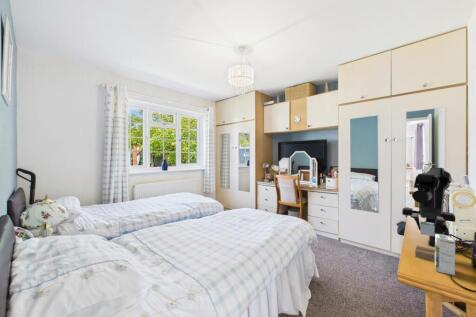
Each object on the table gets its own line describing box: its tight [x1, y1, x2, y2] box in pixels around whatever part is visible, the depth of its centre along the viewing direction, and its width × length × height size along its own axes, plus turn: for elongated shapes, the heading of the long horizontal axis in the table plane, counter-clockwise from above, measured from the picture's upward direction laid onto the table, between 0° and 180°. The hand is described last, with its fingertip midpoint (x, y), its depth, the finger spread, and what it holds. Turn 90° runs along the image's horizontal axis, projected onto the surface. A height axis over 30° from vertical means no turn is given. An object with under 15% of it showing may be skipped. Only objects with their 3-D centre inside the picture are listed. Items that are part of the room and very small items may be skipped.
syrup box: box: [434, 234, 456, 276], centre depth 88 cm, size 6×6×14 cm
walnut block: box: [414, 245, 435, 263], centre depth 100 cm, size 7×7×4 cm
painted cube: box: [419, 220, 435, 237], centre depth 101 cm, size 5×5×5 cm
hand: (427, 231), depth 101 cm, fingers closed on painted cube, 5 cm apart
